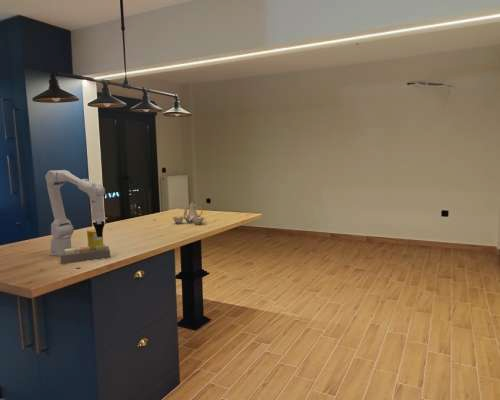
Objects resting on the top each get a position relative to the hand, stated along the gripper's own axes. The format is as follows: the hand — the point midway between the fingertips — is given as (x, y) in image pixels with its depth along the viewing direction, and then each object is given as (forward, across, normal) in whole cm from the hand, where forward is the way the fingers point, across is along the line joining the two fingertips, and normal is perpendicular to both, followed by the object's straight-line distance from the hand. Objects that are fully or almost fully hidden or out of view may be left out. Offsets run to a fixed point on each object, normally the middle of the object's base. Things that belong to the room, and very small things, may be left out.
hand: (99, 236), depth 191 cm
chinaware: (+11, +75, -67) cm, 101 cm away
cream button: (+8, 0, +14) cm, 16 cm away
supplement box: (+11, +18, +2) cm, 21 cm away
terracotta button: (+8, 0, +7) cm, 11 cm away
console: (+10, 0, +7) cm, 13 cm away
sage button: (+8, 0, 0) cm, 8 cm away
